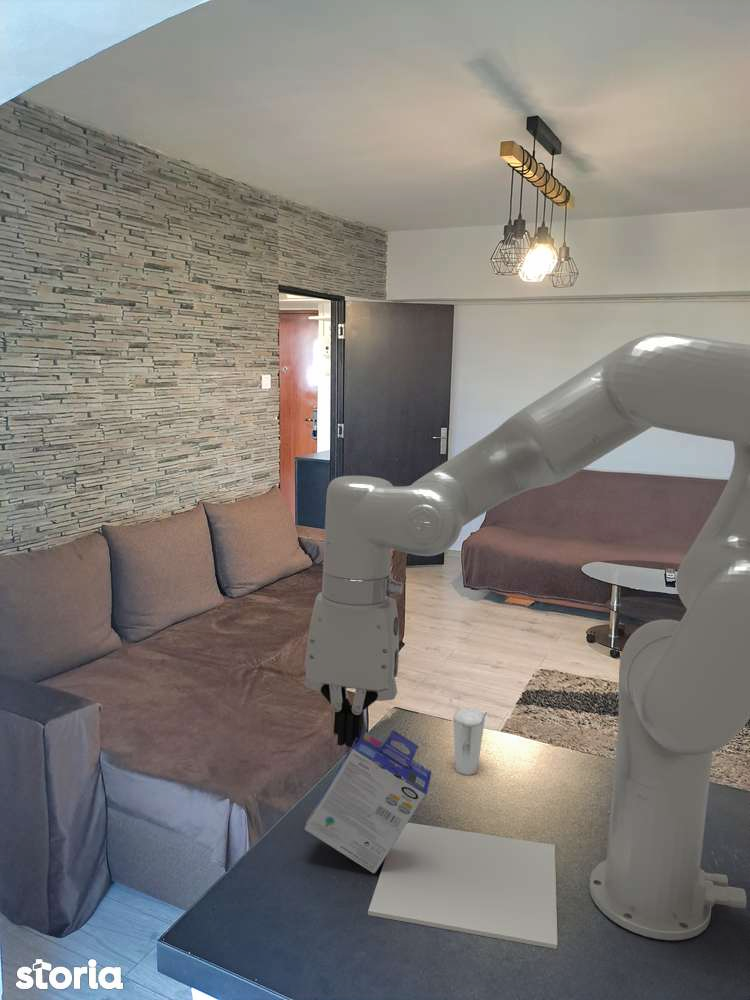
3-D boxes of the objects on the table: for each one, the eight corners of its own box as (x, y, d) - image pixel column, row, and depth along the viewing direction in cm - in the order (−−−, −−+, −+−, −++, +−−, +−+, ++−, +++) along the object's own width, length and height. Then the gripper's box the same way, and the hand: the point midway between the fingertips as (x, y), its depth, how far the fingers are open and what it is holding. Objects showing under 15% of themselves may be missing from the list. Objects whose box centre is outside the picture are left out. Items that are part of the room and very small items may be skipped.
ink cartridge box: (384, 848, 92) (444, 756, 88) (375, 877, 86) (439, 780, 83) (315, 804, 92) (371, 711, 89) (302, 830, 87) (361, 732, 84)
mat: (554, 848, 92) (554, 845, 92) (557, 949, 76) (557, 944, 76) (397, 824, 96) (397, 820, 96) (368, 914, 80) (368, 910, 80)
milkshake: (472, 783, 107) (476, 716, 105) (444, 768, 111) (447, 704, 109) (492, 772, 110) (496, 707, 108) (464, 758, 114) (467, 695, 112)
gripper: (427, 586, 87) (416, 736, 90) (302, 572, 90) (295, 717, 93) (416, 604, 79) (405, 767, 82) (280, 588, 82) (274, 745, 85)
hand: (347, 740), depth 87 cm, fingers closed
